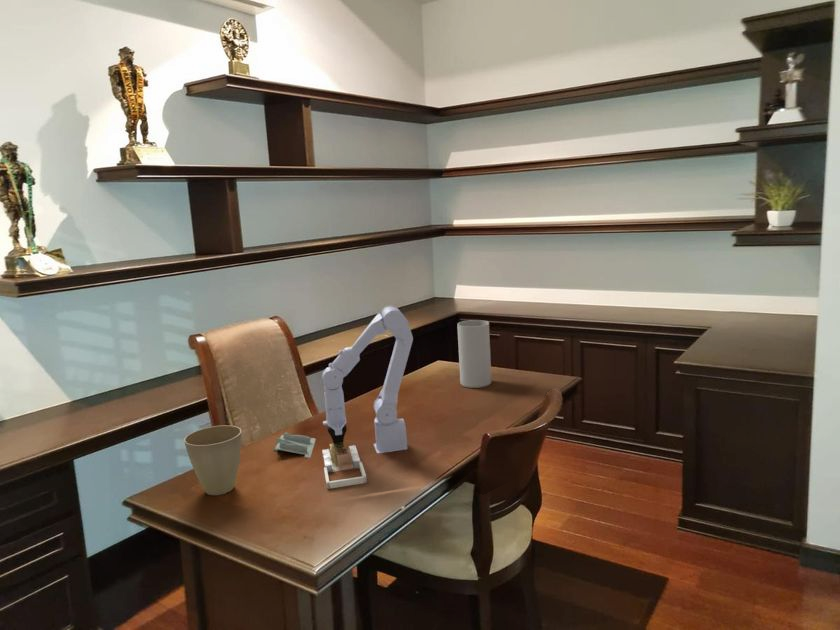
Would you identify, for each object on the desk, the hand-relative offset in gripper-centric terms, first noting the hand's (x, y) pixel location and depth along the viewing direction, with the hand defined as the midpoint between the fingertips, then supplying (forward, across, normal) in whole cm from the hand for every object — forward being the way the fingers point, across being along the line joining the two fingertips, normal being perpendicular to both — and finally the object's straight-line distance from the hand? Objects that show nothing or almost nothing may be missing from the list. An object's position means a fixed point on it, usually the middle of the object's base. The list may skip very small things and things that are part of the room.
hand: (338, 449), depth 189 cm
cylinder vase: (+2, -52, +60) cm, 79 cm away
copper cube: (+1, +9, +1) cm, 9 cm away
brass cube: (+1, +4, -1) cm, 4 cm away
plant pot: (+2, +12, -34) cm, 36 cm away
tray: (+2, +18, 0) cm, 18 cm away
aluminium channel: (+2, +7, 0) cm, 7 cm away
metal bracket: (+2, -8, -12) cm, 15 cm away
